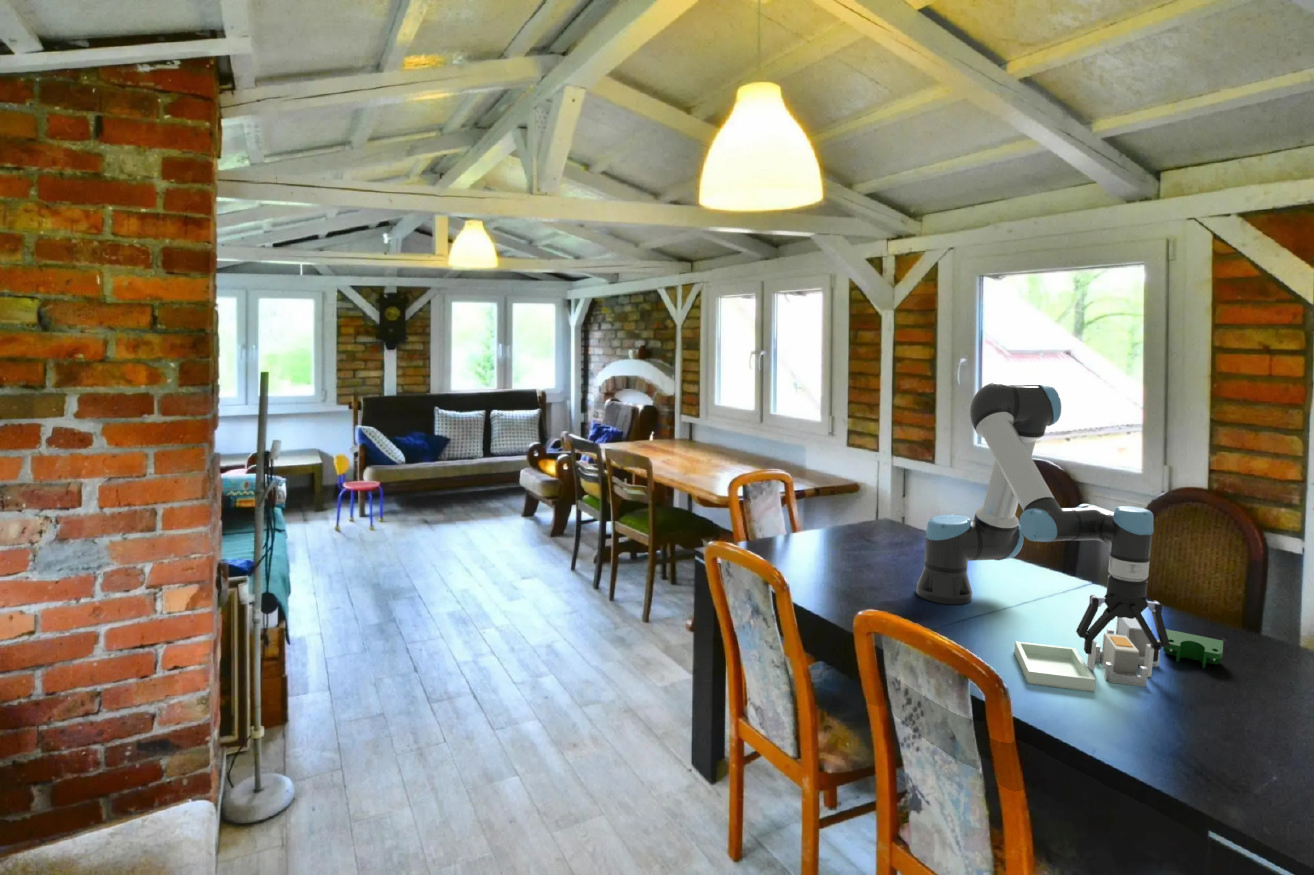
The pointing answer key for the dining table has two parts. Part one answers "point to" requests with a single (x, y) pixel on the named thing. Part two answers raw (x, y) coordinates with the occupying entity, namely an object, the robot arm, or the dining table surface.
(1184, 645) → the clamp
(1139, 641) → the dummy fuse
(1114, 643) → the block
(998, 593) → the dining table surface
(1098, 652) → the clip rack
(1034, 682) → the tray
